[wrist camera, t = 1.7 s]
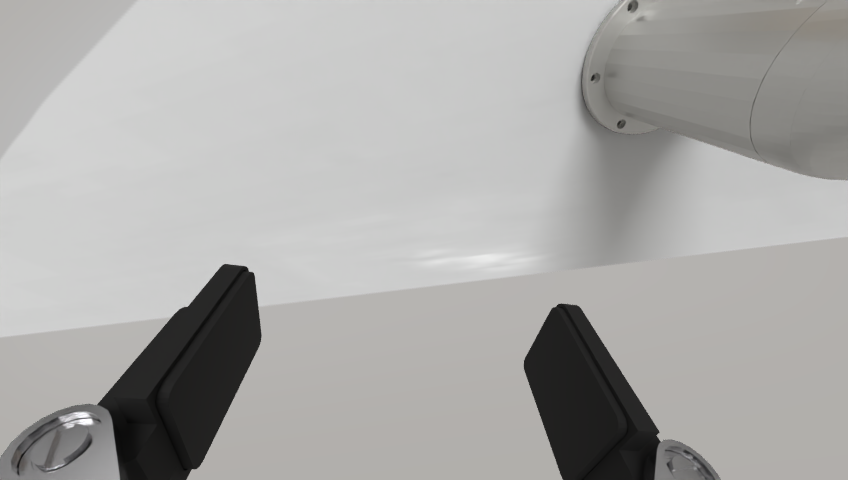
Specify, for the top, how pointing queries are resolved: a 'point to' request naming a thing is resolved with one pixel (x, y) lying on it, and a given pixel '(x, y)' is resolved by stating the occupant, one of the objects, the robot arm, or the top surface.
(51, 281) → the top surface
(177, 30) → the top surface
